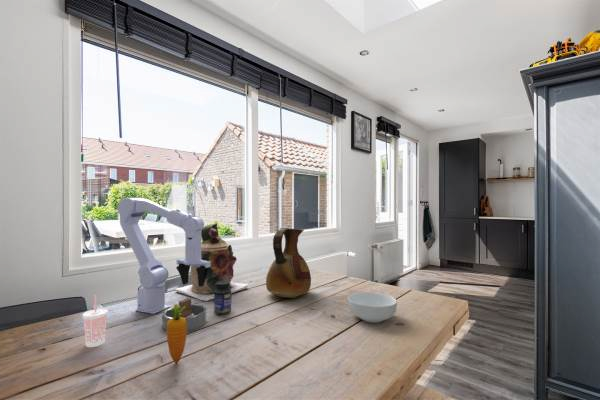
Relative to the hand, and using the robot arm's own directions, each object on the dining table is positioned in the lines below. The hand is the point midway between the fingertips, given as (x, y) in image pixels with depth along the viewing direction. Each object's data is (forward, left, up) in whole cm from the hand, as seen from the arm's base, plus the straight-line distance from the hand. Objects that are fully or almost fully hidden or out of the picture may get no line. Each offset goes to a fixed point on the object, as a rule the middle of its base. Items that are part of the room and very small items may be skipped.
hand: (193, 284), depth 113 cm
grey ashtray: (+5, -10, -10) cm, 15 cm away
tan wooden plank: (+5, -10, -9) cm, 14 cm away
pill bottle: (+11, +3, -10) cm, 15 cm away
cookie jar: (-10, +25, -10) cm, 28 cm away
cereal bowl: (+64, +17, -10) cm, 67 cm away
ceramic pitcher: (+26, +31, -10) cm, 42 cm away
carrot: (+21, -31, -10) cm, 39 cm away
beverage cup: (-9, -31, -10) cm, 34 cm away
